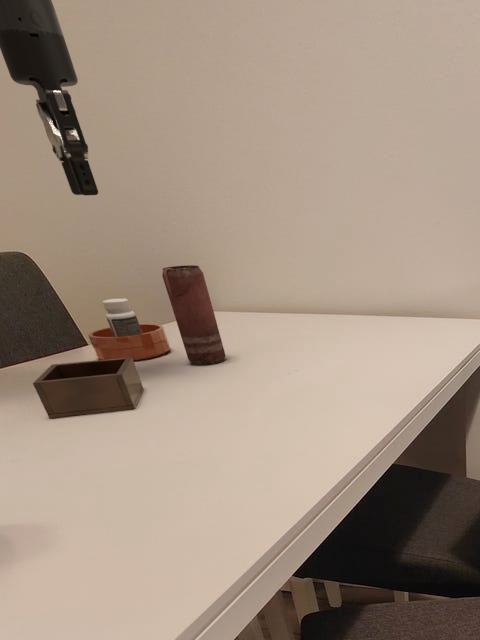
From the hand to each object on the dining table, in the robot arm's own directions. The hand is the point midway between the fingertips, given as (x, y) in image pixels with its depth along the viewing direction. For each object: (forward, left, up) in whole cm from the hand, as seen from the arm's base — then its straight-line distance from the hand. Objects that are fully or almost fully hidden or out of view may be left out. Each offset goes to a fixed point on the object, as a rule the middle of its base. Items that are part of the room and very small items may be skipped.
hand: (85, 195), depth 83 cm
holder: (-5, -17, -23) cm, 29 cm away
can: (+9, +3, -24) cm, 26 cm away
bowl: (-4, +15, -23) cm, 28 cm away
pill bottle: (-4, +15, -23) cm, 28 cm away
